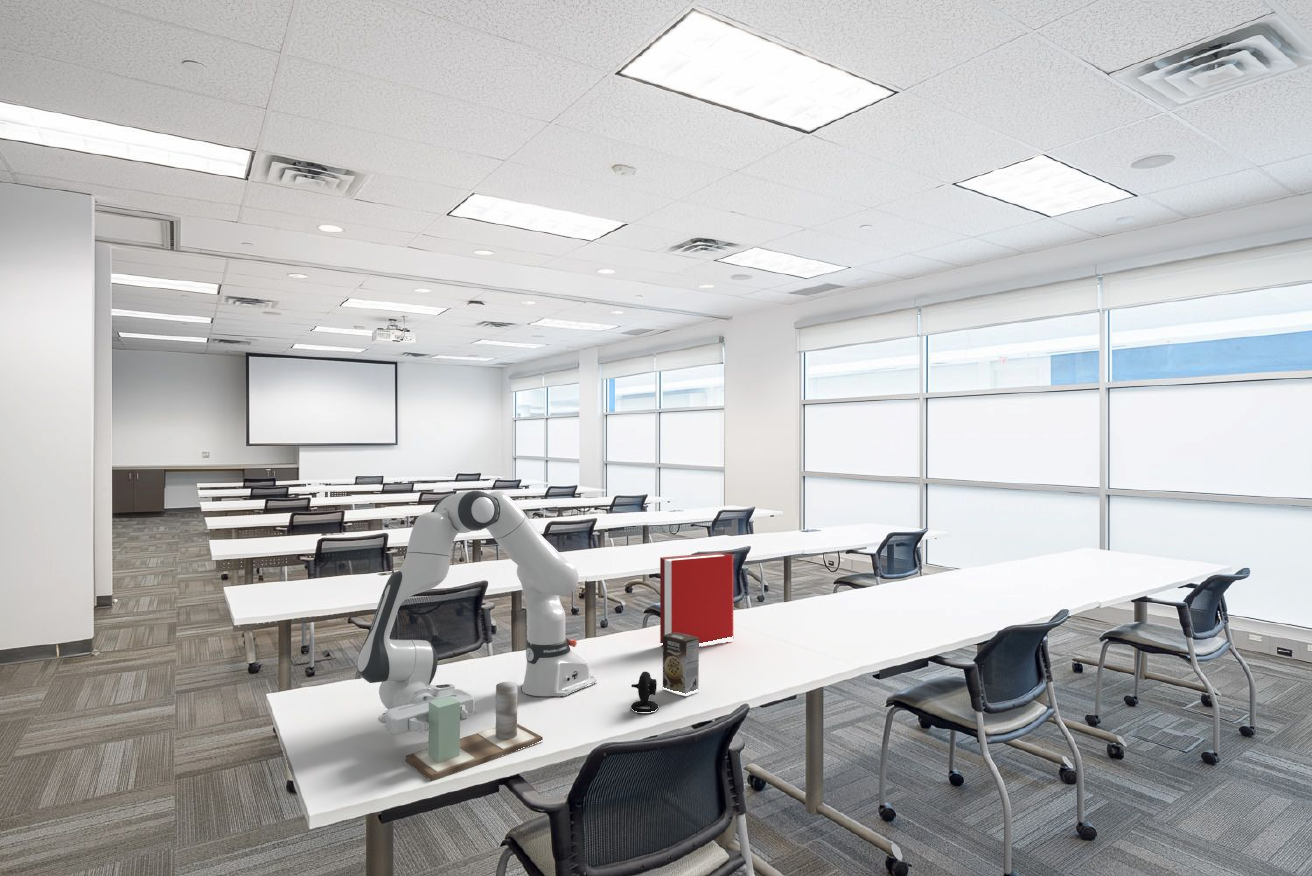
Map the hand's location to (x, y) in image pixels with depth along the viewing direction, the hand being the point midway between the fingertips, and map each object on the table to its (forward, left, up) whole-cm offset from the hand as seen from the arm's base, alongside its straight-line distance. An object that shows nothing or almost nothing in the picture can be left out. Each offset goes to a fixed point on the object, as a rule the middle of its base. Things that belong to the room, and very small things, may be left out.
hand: (445, 721), depth 151 cm
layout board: (-8, -1, -9) cm, 12 cm away
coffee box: (-71, +4, -9) cm, 72 cm away
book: (-111, -26, -9) cm, 114 cm away
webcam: (-54, +7, -9) cm, 55 cm away
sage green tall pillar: (0, -1, -8) cm, 8 cm away
